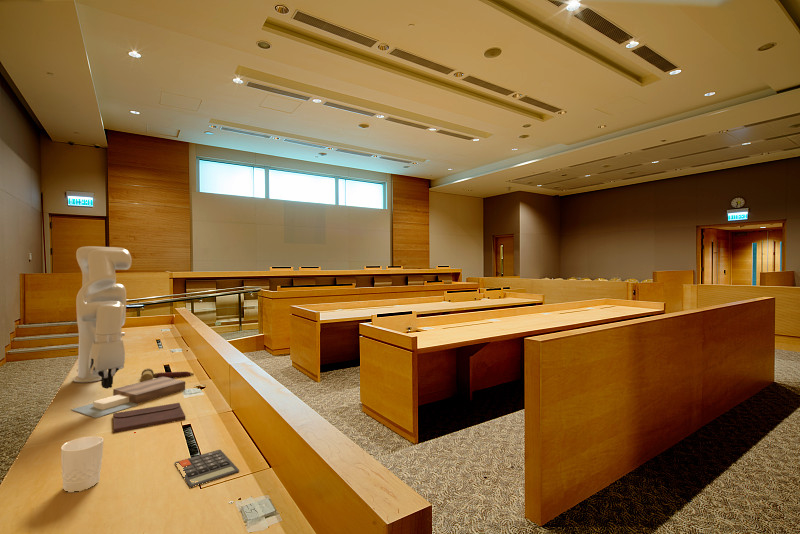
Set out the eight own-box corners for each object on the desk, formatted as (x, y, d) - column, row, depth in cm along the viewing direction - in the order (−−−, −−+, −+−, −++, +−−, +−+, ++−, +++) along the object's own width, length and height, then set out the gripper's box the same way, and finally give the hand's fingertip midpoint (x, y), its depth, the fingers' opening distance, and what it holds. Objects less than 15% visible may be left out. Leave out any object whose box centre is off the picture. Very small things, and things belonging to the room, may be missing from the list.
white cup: (76, 476, 97) (77, 435, 97) (110, 475, 98) (111, 435, 98) (50, 494, 89) (52, 451, 89) (87, 494, 90) (88, 450, 90)
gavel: (193, 366, 189) (195, 371, 180) (192, 376, 189) (194, 381, 180) (142, 368, 178) (140, 374, 170) (141, 378, 178) (139, 384, 169)
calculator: (220, 448, 112) (239, 469, 101) (220, 451, 112) (239, 473, 101) (174, 461, 104) (190, 485, 93) (174, 465, 104) (190, 489, 93)
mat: (71, 410, 138) (71, 409, 138) (113, 398, 151) (113, 397, 151) (95, 418, 132) (95, 417, 132) (138, 405, 145) (138, 404, 145)
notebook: (185, 420, 133) (185, 415, 133) (113, 434, 121) (113, 428, 121) (178, 407, 145) (179, 402, 145) (113, 418, 134) (113, 412, 134)
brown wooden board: (113, 398, 151) (113, 389, 151) (163, 384, 170) (163, 376, 170) (135, 404, 146) (136, 395, 146) (185, 389, 164) (185, 381, 164)
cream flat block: (92, 406, 141) (93, 401, 141) (119, 399, 150) (119, 394, 149) (102, 409, 139) (103, 404, 139) (129, 402, 147) (129, 396, 147)
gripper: (123, 333, 151) (122, 380, 152) (79, 339, 138) (77, 391, 138) (136, 335, 148) (134, 383, 149) (91, 342, 135) (89, 395, 135)
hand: (107, 387), depth 144 cm, fingers closed
